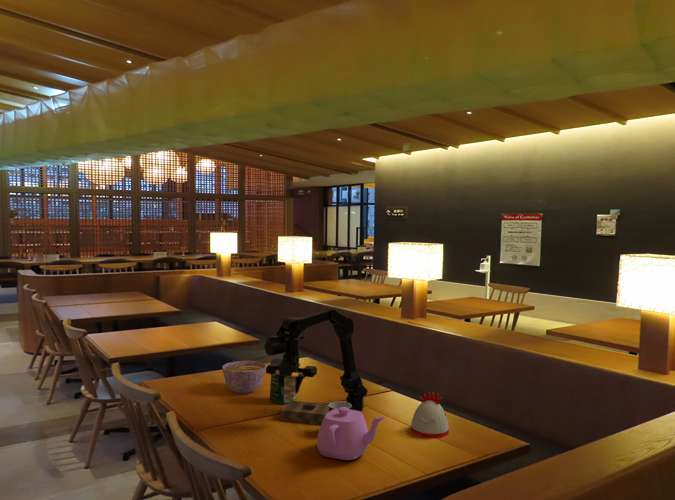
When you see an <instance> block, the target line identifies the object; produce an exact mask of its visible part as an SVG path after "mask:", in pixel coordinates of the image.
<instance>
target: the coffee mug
mask: <svg viewBox="0 0 675 500" xmlns="http://www.w3.org/2000/svg"><path fill="white" fill-rule="evenodd" d="M328 404H329V405H328V406H329V412H330V411H331V410H334V409H337V408H340V407H347V408H349V409H350V410H353V406H352V405H351V404H350V403H347V402H346V401H331V402H329V403H328Z"/></svg>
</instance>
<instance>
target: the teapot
mask: <svg viewBox="0 0 675 500" xmlns="http://www.w3.org/2000/svg"><path fill="white" fill-rule="evenodd" d="M385 419H386V416H378V417H375V418H374V419H373V420H372V421H371V425H370V428H368V425H367V422H366V419H365V416H364V414H363V412H362V411H356V410H350V409H349V408H347V407H340V408H337V409H334V410H331V411H330V412H328V413H327V414H326V415H325V417H324V419H323V422H322V424H321V425H320V426H319V429H318V434H317V441H316V448H317V450H318V452H319V454H320V455H321V456H323V457H326V458H330V459H335V460H341V461H342V460H343V461H353V460H356V459H358V458H360V457H361V456H362V455H363V454H364V453H365V451H366V450H367V447H368V446H369V445H370V444H371V443H373V442H374V439H375V437H376V435H377V429H378V426H379V423H380V422H381V421H382V420H385ZM368 429H369V430H368Z"/></svg>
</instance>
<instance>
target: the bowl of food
mask: <svg viewBox="0 0 675 500" xmlns="http://www.w3.org/2000/svg"><path fill="white" fill-rule="evenodd" d="M266 367H267V364H266V363H264V362H260V361H257V360H256V361H254V360H237V361H236V360H235V361H231V362H227V363H225V364H223V365H222V366H221V368H222V373H223V376H224V377H223V378H224V381H225V385H226V386H227V388H228V389H229V390H231V391H233V392H235V393H236V394H239V393H241V394H242V395H244V394H247V395H248V394H250V393H253V392H254V391H256V390H258V389H259V388H260V387H261V385H262V384H263V382H264V379H265V378H264V377H265V374H266ZM241 394H240V395H241Z"/></svg>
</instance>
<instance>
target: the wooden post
mask: <svg viewBox="0 0 675 500" xmlns="http://www.w3.org/2000/svg"><path fill="white" fill-rule="evenodd" d="M297 376H298V375H296V374H295V375H293V374H292V375H291V376H286V377H285V378H284V391H285V396H286V401H289V402H294V401H297V398H298V397H297V395H298V393H296V384H297V379H296V377H297Z"/></svg>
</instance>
